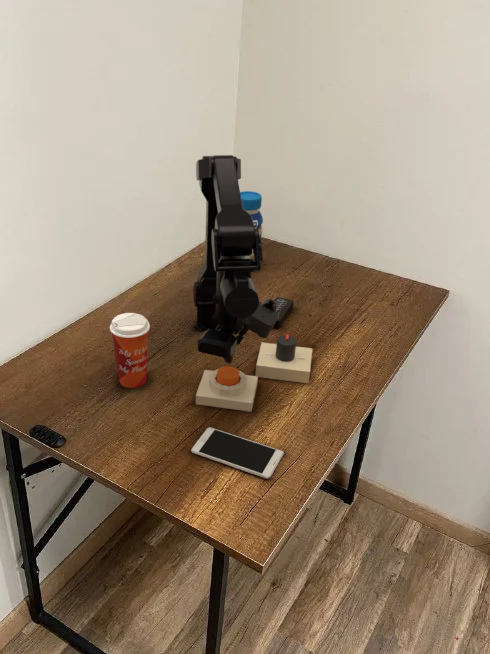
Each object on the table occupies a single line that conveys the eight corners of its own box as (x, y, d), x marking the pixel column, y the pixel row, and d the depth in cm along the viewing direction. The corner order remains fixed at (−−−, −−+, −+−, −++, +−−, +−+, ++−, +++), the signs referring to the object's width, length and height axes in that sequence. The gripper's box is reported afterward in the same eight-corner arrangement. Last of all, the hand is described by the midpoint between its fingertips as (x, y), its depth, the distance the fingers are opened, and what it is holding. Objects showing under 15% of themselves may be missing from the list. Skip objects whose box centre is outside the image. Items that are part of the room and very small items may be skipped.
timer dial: (293, 362, 130) (295, 345, 128) (274, 360, 131) (276, 342, 128) (295, 352, 133) (297, 335, 131) (276, 350, 134) (278, 332, 131)
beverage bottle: (230, 258, 179) (233, 188, 167) (260, 259, 178) (265, 190, 167) (228, 271, 172) (231, 199, 161) (259, 272, 171) (264, 201, 160)
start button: (214, 384, 122) (215, 377, 121) (218, 372, 126) (219, 364, 125) (237, 387, 122) (237, 380, 121) (240, 374, 125) (241, 367, 124)
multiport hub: (293, 308, 155) (294, 300, 154) (278, 329, 147) (279, 320, 146) (276, 304, 157) (277, 296, 155) (260, 324, 148) (261, 316, 147)
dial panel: (255, 377, 131) (256, 364, 129) (260, 353, 138) (261, 341, 136) (308, 383, 129) (310, 371, 127) (310, 360, 137) (312, 347, 135)
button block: (195, 404, 123) (195, 388, 121) (204, 378, 130) (204, 362, 128) (251, 412, 121) (252, 395, 119) (257, 385, 129) (258, 369, 126)
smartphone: (208, 426, 116) (284, 451, 111) (208, 428, 117) (284, 453, 111) (189, 450, 111) (269, 478, 105) (189, 453, 111) (269, 480, 106)
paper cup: (122, 395, 125) (117, 335, 117) (108, 375, 130) (103, 316, 123) (158, 385, 128) (156, 325, 120) (143, 365, 134) (140, 308, 126)
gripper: (260, 323, 103) (253, 399, 112) (289, 276, 117) (282, 346, 126) (196, 310, 106) (195, 384, 115) (233, 266, 121) (229, 335, 129)
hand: (228, 362), depth 121 cm, fingers closed
